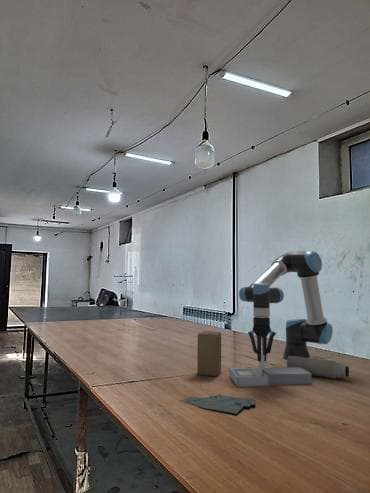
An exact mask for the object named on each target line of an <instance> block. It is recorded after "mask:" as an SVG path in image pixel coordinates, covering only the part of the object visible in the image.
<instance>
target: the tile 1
mask: <svg viewBox="0 0 370 493" xmlns="http://www.w3.org/2000/svg"><path fill="white" fill-rule="evenodd" d="M237 376H238V377H254V375H253V374H252V373H251V372H237Z"/></svg>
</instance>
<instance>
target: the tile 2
mask: <svg viewBox="0 0 370 493" xmlns="http://www.w3.org/2000/svg"><path fill="white" fill-rule="evenodd" d="M251 368H252V374H253V375H254V377H257V376H262V368H261V367H260V364H251Z"/></svg>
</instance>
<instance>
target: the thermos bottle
mask: <svg viewBox="0 0 370 493" xmlns="http://www.w3.org/2000/svg"><path fill="white" fill-rule="evenodd" d="M289 367H301V368H303V369H304V370H306V371H308V372H310V373H311V374H312V376H314V377H322V378H328V379H337V378H338V379H341V378H342V377H343V378H344V377H345V378H346V377H347V378H349V376H350V367H349V366H348V365H346V366H345V365H343V364H342V363H340V362H337V361H335V360H327V359H319V358H313V357H310V358H304V357H296V356H289V357H288V359H286V368H289Z"/></svg>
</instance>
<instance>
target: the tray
mask: <svg viewBox="0 0 370 493" xmlns="http://www.w3.org/2000/svg"><path fill="white" fill-rule="evenodd" d="M228 372H229V375H228V376H229V378H230V379H231V381H232V382H233V383H234V385H235V386H236V387H239V388H241V387H243V388H244V387H270V385H269V376H267V375H266V374H265V373H264V372H262V376H257V377H238V376H237V372H251V373H252V367H244V368H242V367H241V368H240V367H235V368H232V367H231V368H229V371H228Z"/></svg>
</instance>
